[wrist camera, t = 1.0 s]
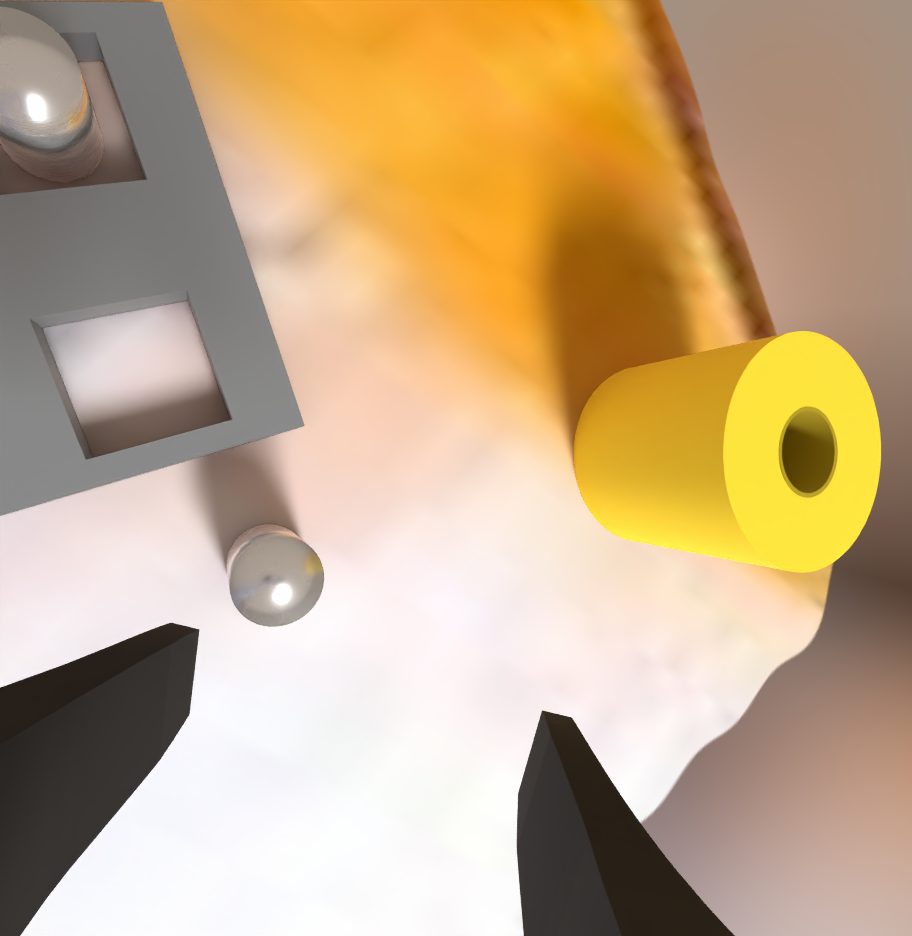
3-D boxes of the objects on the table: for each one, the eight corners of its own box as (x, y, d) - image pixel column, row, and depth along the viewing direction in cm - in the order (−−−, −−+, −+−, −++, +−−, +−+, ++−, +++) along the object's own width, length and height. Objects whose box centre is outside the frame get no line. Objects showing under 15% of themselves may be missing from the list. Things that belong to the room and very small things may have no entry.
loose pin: (241, 612, 23) (247, 641, 19) (214, 540, 22) (216, 556, 19) (316, 582, 24) (335, 604, 20) (292, 513, 24) (307, 523, 20)
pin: (17, 186, 20) (-27, 124, 16) (-19, 92, 19) (-74, 5, 15) (117, 176, 21) (97, 115, 17) (84, 88, 20) (57, 6, 17)
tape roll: (712, 529, 34) (884, 553, 25) (579, 553, 30) (729, 591, 21) (704, 365, 33) (876, 333, 25) (567, 367, 29) (717, 329, 21)
